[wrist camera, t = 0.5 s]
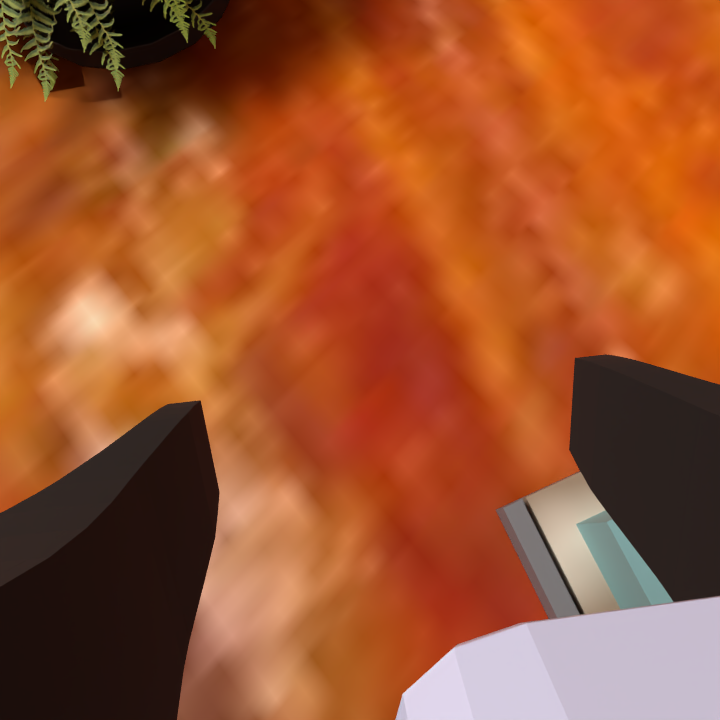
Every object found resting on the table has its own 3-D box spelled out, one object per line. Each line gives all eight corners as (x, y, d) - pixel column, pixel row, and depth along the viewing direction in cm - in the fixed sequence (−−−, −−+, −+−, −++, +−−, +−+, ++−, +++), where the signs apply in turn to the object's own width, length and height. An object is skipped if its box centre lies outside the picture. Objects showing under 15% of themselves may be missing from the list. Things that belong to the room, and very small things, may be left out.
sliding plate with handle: (818, 727, 32) (901, 764, 27) (675, 801, 32) (732, 853, 26) (650, 439, 37) (693, 423, 32) (522, 498, 36) (545, 491, 31)
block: (699, 571, 34) (751, 577, 29) (620, 609, 33) (660, 621, 29) (651, 488, 35) (694, 480, 30) (575, 524, 35) (606, 521, 30)
